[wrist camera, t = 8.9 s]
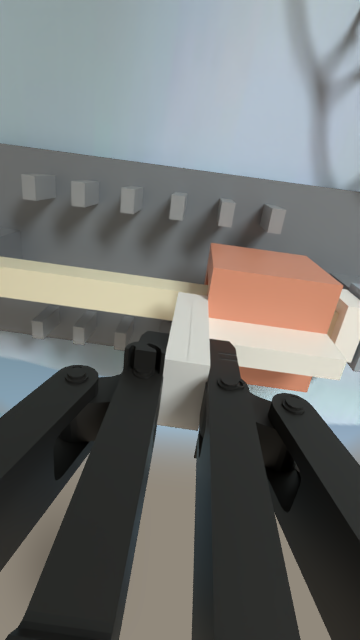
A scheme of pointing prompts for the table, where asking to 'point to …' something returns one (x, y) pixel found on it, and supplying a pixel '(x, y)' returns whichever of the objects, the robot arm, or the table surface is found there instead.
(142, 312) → the cream long bar
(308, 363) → the banded orange cube
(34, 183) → the cable comb board
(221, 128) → the table surface
